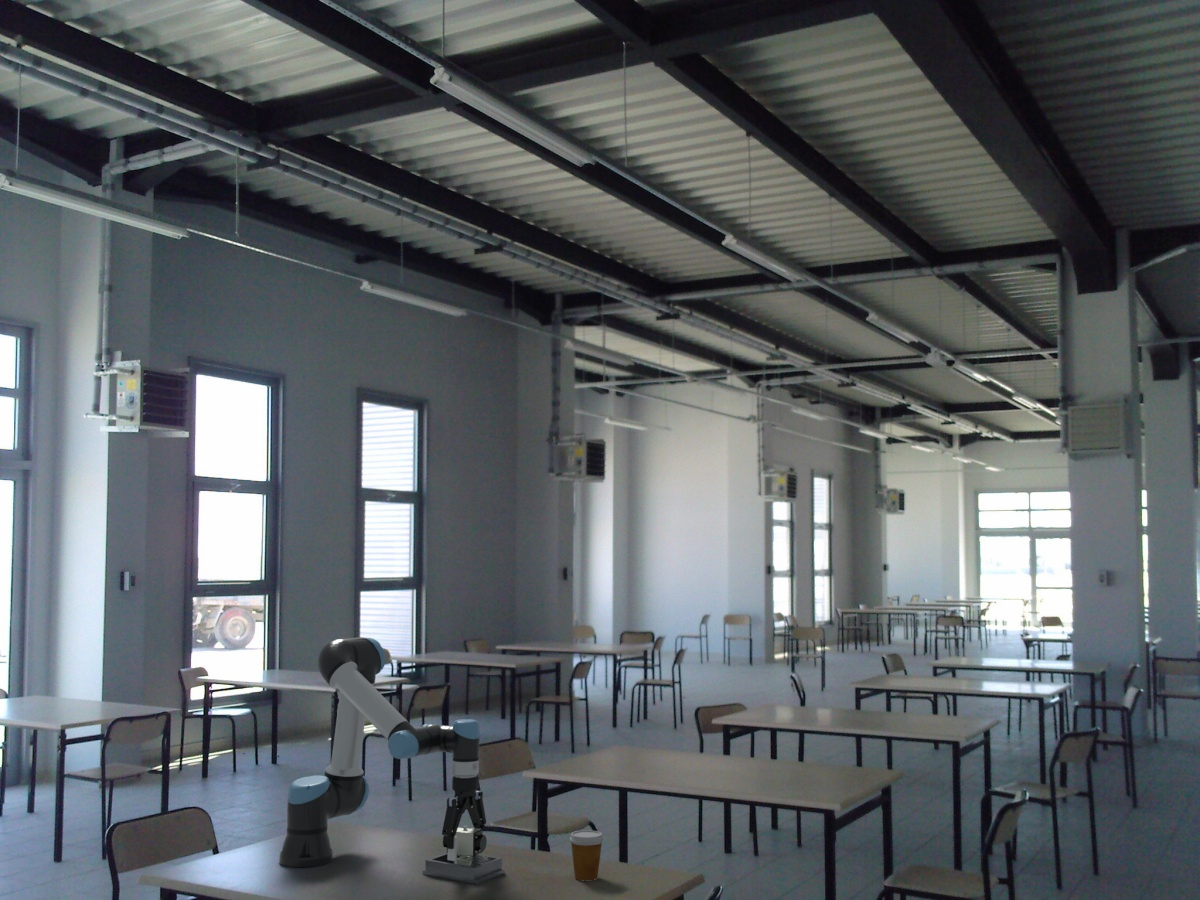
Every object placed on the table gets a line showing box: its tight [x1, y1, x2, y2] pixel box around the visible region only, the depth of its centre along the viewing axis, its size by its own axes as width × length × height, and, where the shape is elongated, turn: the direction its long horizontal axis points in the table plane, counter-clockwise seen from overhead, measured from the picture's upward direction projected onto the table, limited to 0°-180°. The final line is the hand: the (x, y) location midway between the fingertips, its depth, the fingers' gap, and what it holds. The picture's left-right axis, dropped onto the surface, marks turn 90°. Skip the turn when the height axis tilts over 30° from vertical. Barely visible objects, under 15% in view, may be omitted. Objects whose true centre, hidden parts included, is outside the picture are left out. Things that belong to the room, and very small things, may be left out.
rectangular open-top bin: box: [422, 852, 505, 885], centre depth 302 cm, size 19×13×4 cm
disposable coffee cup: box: [569, 829, 604, 881], centre depth 299 cm, size 10×10×12 cm
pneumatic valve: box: [442, 825, 488, 867], centre depth 303 cm, size 6×12×12 cm, turn 70°
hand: (464, 856), depth 303 cm, fingers open, 10 cm apart
